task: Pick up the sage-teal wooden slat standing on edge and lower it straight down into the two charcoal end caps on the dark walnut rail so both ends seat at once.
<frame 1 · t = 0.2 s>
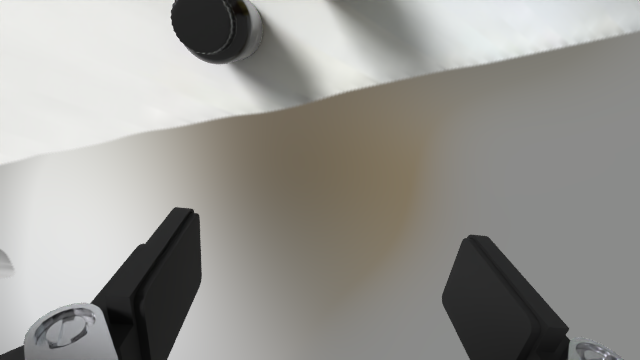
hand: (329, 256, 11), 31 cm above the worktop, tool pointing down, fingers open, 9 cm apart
supplement bottle: (234, 27, 36), on the worktop
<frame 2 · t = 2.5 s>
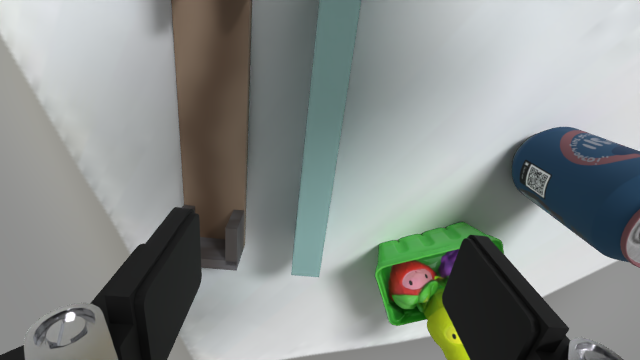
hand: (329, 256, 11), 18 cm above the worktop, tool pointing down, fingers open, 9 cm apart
fruit basket: (425, 254, 34), on the worktop
endcap rail: (215, 111, 27), on the worktop
soda can: (540, 158, 30), on the worktop
slat: (320, 122, 28), on the worktop
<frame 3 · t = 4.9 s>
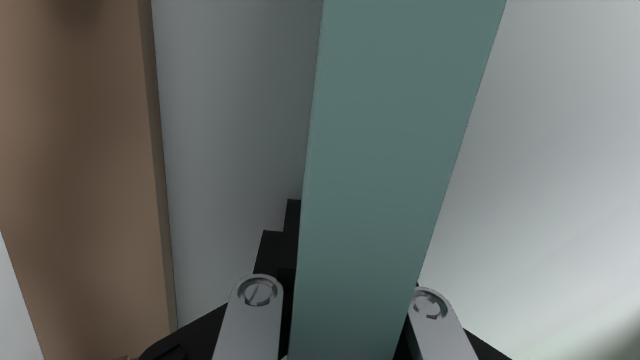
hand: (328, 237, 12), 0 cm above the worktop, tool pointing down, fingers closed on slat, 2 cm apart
endcap rail: (92, 209, 12), on the worktop
slat: (327, 228, 13), on the worktop, touching gripper
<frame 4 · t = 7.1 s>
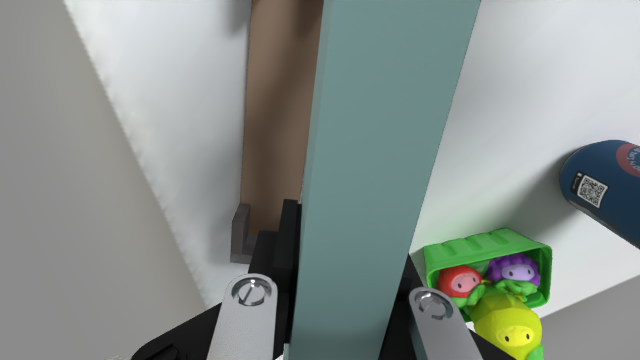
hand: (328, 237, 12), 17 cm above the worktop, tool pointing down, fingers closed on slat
fruit basket: (466, 258, 35), on the worktop
endcap rail: (279, 113, 28), on the worktop
soda can: (587, 169, 31), on the worktop
slat: (326, 222, 14), point 16 cm above the worktop, touching gripper
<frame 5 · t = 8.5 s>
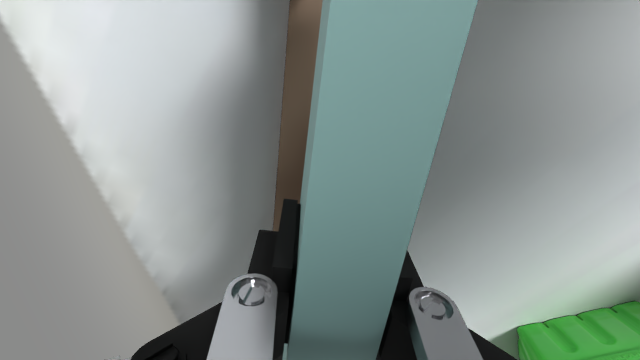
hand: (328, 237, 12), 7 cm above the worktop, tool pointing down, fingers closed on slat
fruit basket: (572, 337, 26), on the worktop
endcap rail: (326, 162, 19), on the worktop
slat: (325, 221, 14), point 6 cm above the worktop, touching gripper
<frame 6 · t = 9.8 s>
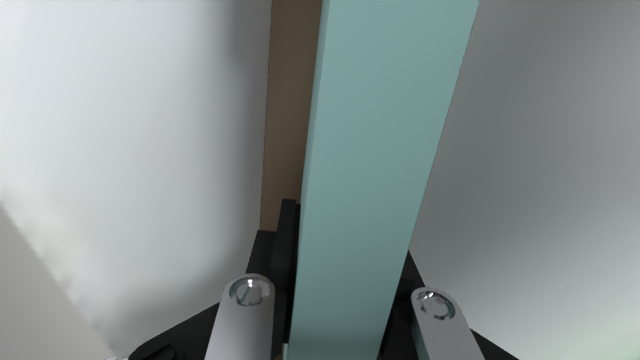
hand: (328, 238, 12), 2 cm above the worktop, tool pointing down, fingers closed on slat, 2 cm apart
endcap rail: (325, 208, 14), on the worktop
slat: (326, 218, 14), point 1 cm above the worktop, touching endcap rail, gripper
when the fingers open (2 cm above the worktop, at t = 9.8 s): slat stays where it is, resting on endcap rail.
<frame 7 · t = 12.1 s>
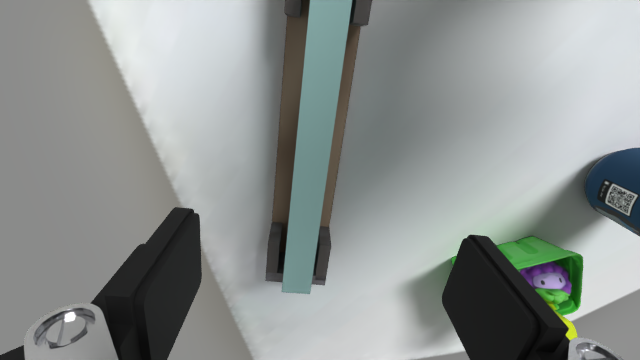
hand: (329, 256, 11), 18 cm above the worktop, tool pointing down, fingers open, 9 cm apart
fruit basket: (493, 267, 36), on the worktop
endcap rail: (310, 133, 28), on the worktop
soda can: (611, 176, 31), on the worktop
slat: (311, 136, 28), point 1 cm above the worktop, touching endcap rail
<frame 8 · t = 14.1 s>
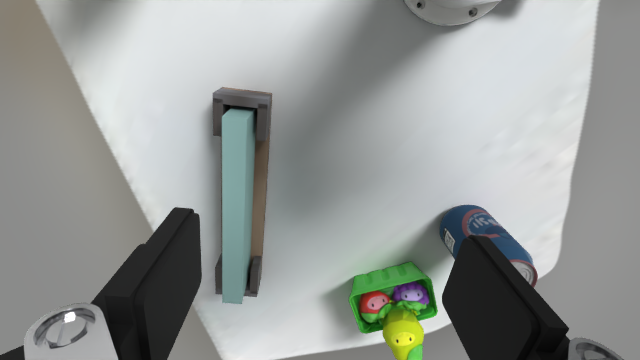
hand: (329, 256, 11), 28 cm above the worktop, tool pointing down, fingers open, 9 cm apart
fruit basket: (386, 282, 49), on the worktop
endcap rail: (244, 195, 42), on the worktop
soda can: (460, 221, 45), on the worktop
slat: (243, 198, 41), point 1 cm above the worktop, touching endcap rail
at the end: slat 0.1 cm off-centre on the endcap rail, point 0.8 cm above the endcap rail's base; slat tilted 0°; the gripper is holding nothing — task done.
